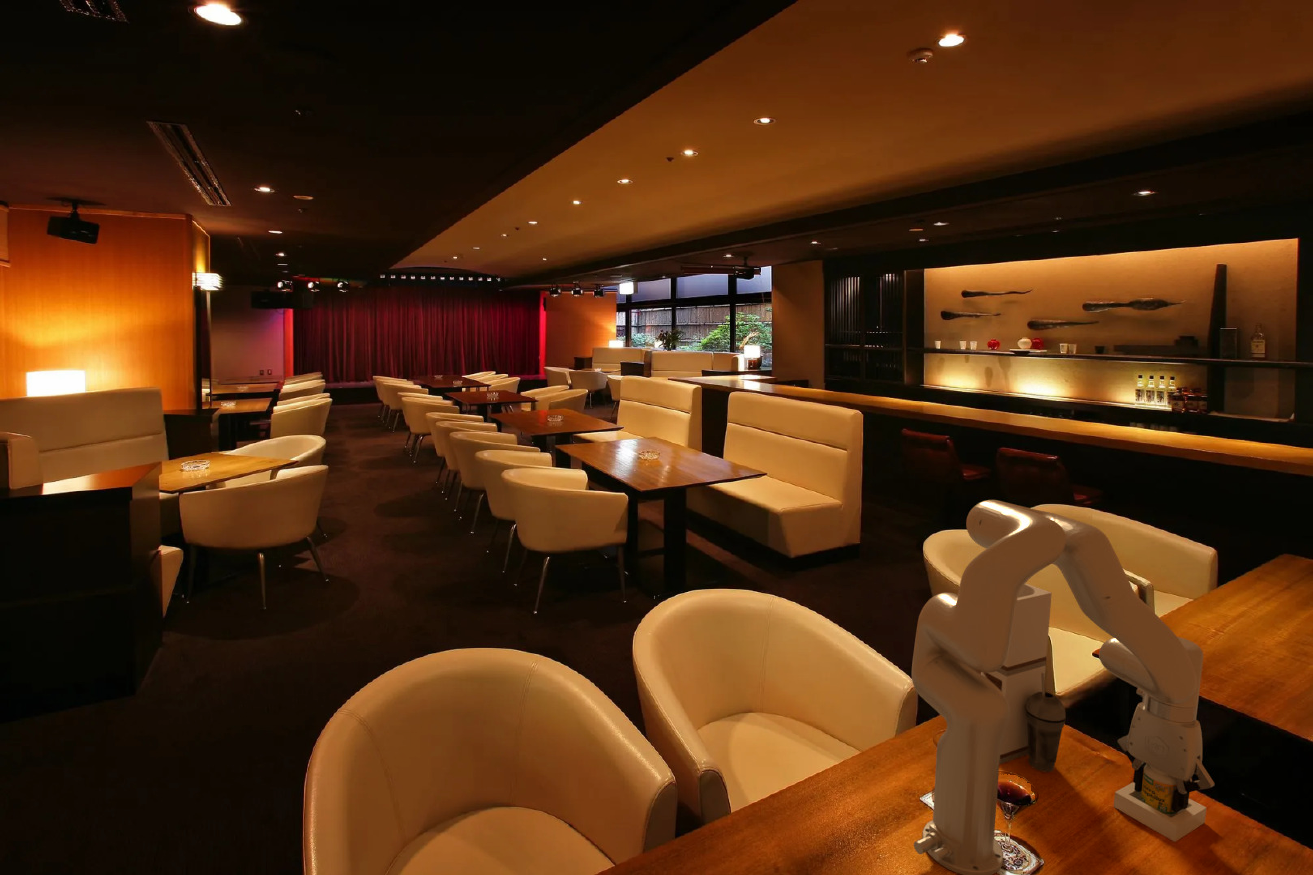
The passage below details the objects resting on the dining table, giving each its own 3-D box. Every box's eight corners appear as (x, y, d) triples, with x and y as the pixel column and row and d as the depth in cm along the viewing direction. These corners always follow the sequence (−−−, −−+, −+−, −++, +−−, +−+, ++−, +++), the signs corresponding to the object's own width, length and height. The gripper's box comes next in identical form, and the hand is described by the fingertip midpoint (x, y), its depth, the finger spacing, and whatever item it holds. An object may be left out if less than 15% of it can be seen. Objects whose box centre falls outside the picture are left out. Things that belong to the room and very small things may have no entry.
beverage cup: (1069, 776, 133) (1077, 682, 130) (1032, 776, 133) (1040, 682, 131) (1049, 754, 140) (1056, 664, 138) (1014, 753, 141) (1020, 664, 138)
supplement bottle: (1183, 812, 121) (1189, 764, 120) (1165, 821, 119) (1171, 772, 117) (1151, 794, 126) (1156, 747, 124) (1133, 802, 124) (1138, 755, 122)
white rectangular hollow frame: (1174, 841, 116) (1176, 826, 115) (1113, 806, 125) (1115, 791, 124) (1204, 822, 120) (1206, 807, 120) (1143, 789, 129) (1145, 775, 129)
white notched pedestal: (996, 724, 151) (1006, 576, 146) (1038, 750, 142) (1051, 592, 137) (958, 736, 147) (968, 583, 142) (1000, 763, 137) (1012, 601, 132)
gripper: (1107, 689, 125) (1098, 778, 128) (1216, 737, 110) (1203, 836, 113) (1129, 680, 129) (1120, 766, 131) (1238, 725, 114) (1226, 821, 116)
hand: (1159, 798), depth 122 cm, fingers closed on supplement bottle, 5 cm apart
